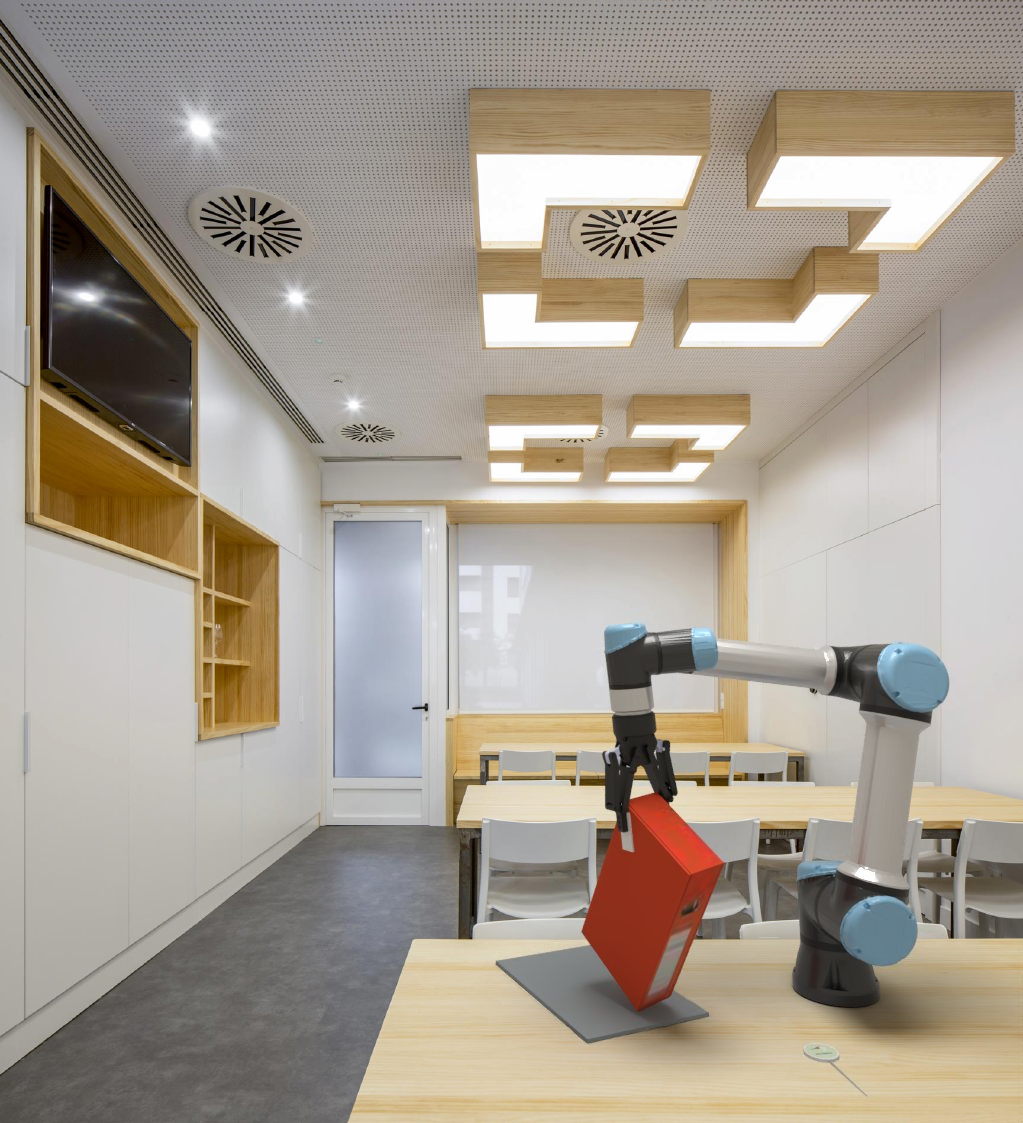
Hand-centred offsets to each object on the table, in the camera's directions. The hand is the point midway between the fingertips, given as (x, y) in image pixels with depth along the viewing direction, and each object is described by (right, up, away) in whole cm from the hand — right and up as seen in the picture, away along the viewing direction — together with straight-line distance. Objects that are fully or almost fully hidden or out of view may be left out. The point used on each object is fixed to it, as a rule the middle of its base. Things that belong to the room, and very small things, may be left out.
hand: (646, 844), depth 140 cm
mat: (-8, -31, +12) cm, 34 cm away
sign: (+26, -28, -19) cm, 42 cm away
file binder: (-3, -24, +7) cm, 26 cm away
